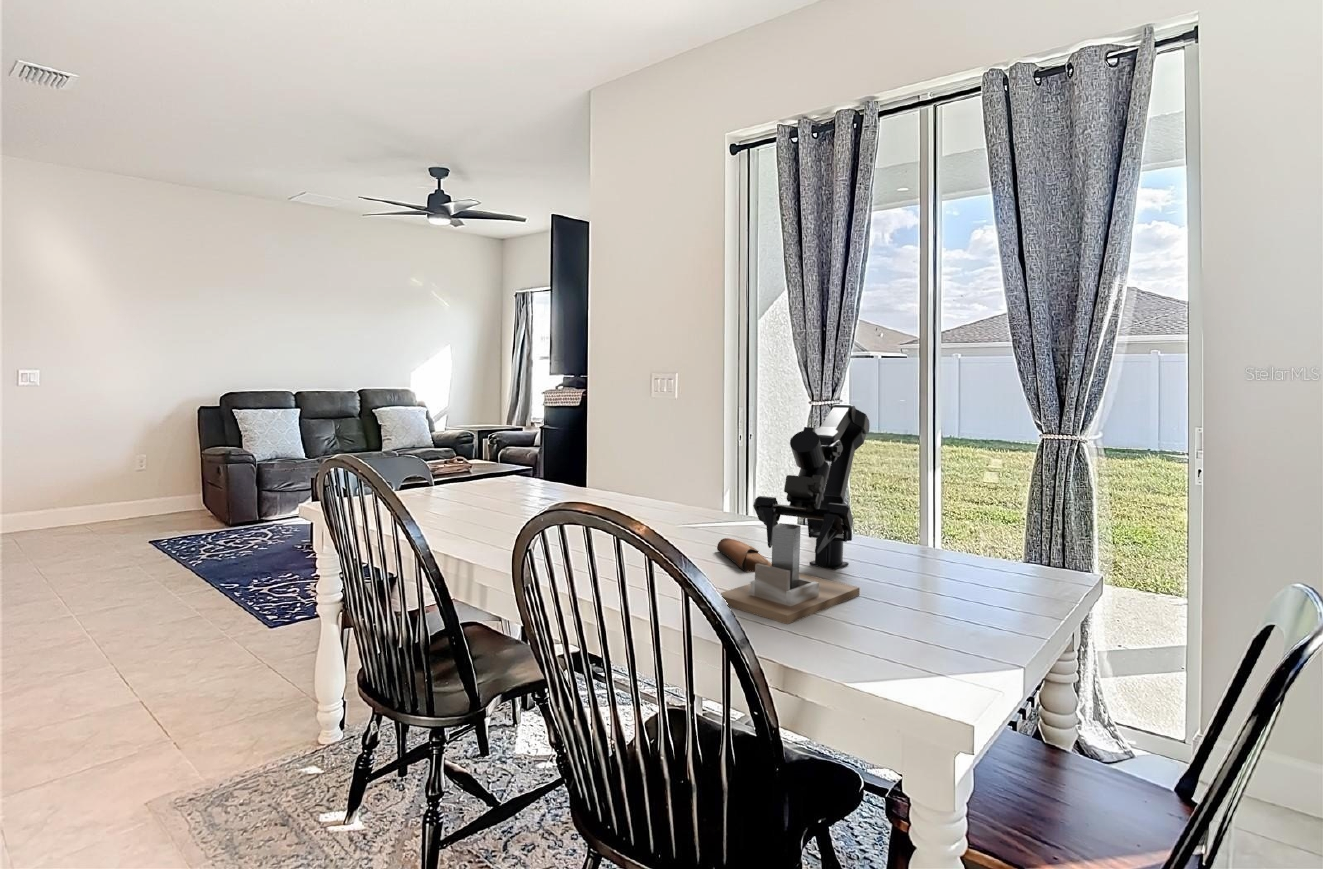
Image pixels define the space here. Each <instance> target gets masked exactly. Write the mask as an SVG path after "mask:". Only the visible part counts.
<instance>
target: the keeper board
mask: <svg viewBox="0 0 1323 869" xmlns="http://www.w3.org/2000/svg"><path fill="white" fill-rule="evenodd" d="M860 588H861V587H858V586H855V585H852V584H851V585H850V584H846V583H842V582H838V581H834V580H830V579H826V578H822V577H817V576H814V575H810V574H805V573H801V572H799V587H797V588H794V589H791V590H790V571H789V570H785V569H780V568H776V567H772V566H768V565H764V564H760V563H758V564H755V571H754V580H751V581H750V583H748V584H744V585H741V586H738V587H735V588H732V589H728V590H726V591H722V592H720V593H721V595H722V597H723V598H724V599H725V600H726V602H727V603H728V605H729V606H730V608H733V609H736V610H739V611H743V612H747V613H750V614H753V615H757V616H760V617H763V618H766V619H769V620H772V621H776V622H779V623H782V624H786V625H790V624H791V623H794V622H796V621H798V620H802V619H804V618H806V617H808V616H810V615H811V616H812V615H813V614H815V613H818V612H821V611H823V610H826V609H828V608H831V607H834V606H836V605H838V604H840V603H843V602H846V601H848V600H850V599H854V598H855V597H858V596H860V590H861V589H860ZM729 606H728V607H729Z"/></svg>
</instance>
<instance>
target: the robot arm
mask: <svg viewBox="0 0 1323 869" xmlns="http://www.w3.org/2000/svg"><path fill="white" fill-rule="evenodd" d="M870 427H871V425H870V419H869V417H868V415H867V413H864V412H862V411H861V410H859V409H857V408H856V406H855V405H852V404H849V403H848V404H847V403H846V404H845V403H835V404H831V406H830V412H829V414H828V415H827V416H826V417H825V419H824V421H823V422H822V423H821V425H820V426H819V427H818V428H815V427H814V426H804V427H803V430H801V431H799V432H797V433H795V434H794V435H793V436H792V437H791V438H790V440H789V445H790V449H791V451H792V454H793V458H794V461H795V464H796V466H797V467H798V468H799V473H798V475H792V474H791V475H789V474H787V475H786V476H785V481H784V483H785V484H784V487H783V488H784V489H783V492H784V493H786V494H787V495H786V501H787V502H789V505H787V504H781V503H779V502H778V500H777V497H776V496H765V495H764V496H763V495H759V496H757V497H755V499H754V502H753V504H752V506H753V508H754V511H755V513H756V516H757V518H758V520H759V521H760V522H762V523H763V524H764V526H766V527H765V528H766V537H767V538H766V539H767V547H768V548H769V549H772V534H773V527H774V526H776V525H777V524H779V521H780V517H781V516H787V517H795V518H797V517H798V518H800V519H806V520H807V531H808V532H807V534H808V538H814V539H815V546H814V547H815V548H814V553H815V554H814V560H811V561H809V565H812V566H815V567H820V568H823V569H827V570H828V569H829V570H837V569H841V568H844V567H847V566H849V562H847V561H844V559H843V558H844V557H843V556H844V554H843V553H844V543H847V542H851V541H852V540H853V524H854V519H853V515H852V511H851V508H850V506H849V505H848V504H846V503H845V501H844V500H845V496H846V491H847V487H848V484H849V478H850V474H851V470H852V465H853V460H854V457H855V456H854V455H855V452H856V450H857V449H859V448H860V447H861V446H862V445H863V444H864V443H865V440H866V436H867V435H869V433H870ZM828 462H830V465H829V464H828Z"/></svg>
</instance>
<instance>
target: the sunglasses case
mask: <svg viewBox="0 0 1323 869" xmlns="http://www.w3.org/2000/svg"><path fill="white" fill-rule="evenodd" d="M716 550H717V551H718V552H719V553H721V554H723V556H726V557H727V558H728V559H730V560H731V561H732V562H733V563H735V564H736V565H737V566H738V567H739V568H740V569H742V570H743V572H755V564H758V563H760V564H764V565H768V566H772V562H770V561H769V560H768V559H766V558H765V557H764V556H763V555H762V554H761V553H759V550H758V549H756V548H755V547H753V546H751V545H750V544H746V543H744V542H742V541H740V540H737V539H732V538H724V537H723V538H722V539H720V541H718V543H717V548H716Z"/></svg>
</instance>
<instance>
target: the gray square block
mask: <svg viewBox="0 0 1323 869" xmlns="http://www.w3.org/2000/svg"><path fill="white" fill-rule="evenodd" d="M800 552H801V525H798V524H789V523H783V522H782V523H779V522H778V524H777V525H776V526H774V527H773V534H772V547H771V564H772V567H776V568H780V569H785V570H789V571H790V590H791V589H794V588H797V587H799V573H800V555H801V554H800Z"/></svg>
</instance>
